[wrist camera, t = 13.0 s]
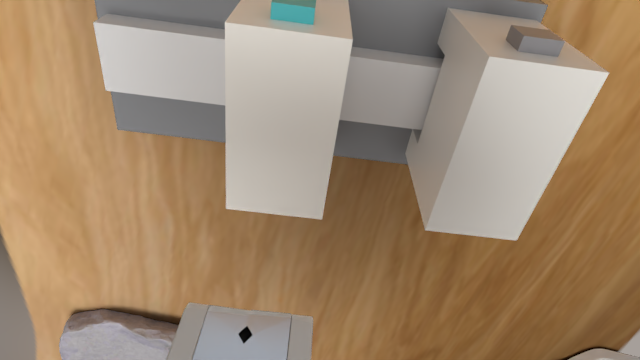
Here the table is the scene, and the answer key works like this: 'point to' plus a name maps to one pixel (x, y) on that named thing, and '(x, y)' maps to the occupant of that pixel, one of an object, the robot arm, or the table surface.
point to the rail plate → (364, 31)
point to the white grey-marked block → (497, 122)
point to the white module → (283, 102)
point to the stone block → (115, 337)
